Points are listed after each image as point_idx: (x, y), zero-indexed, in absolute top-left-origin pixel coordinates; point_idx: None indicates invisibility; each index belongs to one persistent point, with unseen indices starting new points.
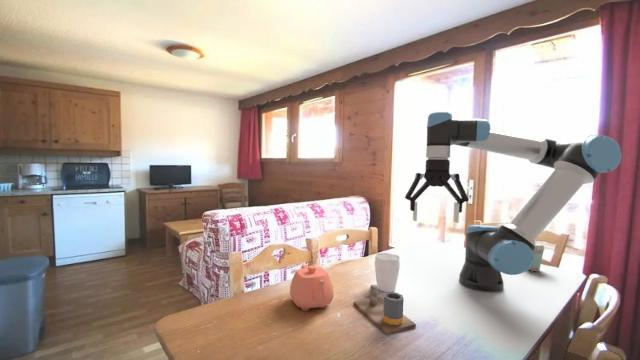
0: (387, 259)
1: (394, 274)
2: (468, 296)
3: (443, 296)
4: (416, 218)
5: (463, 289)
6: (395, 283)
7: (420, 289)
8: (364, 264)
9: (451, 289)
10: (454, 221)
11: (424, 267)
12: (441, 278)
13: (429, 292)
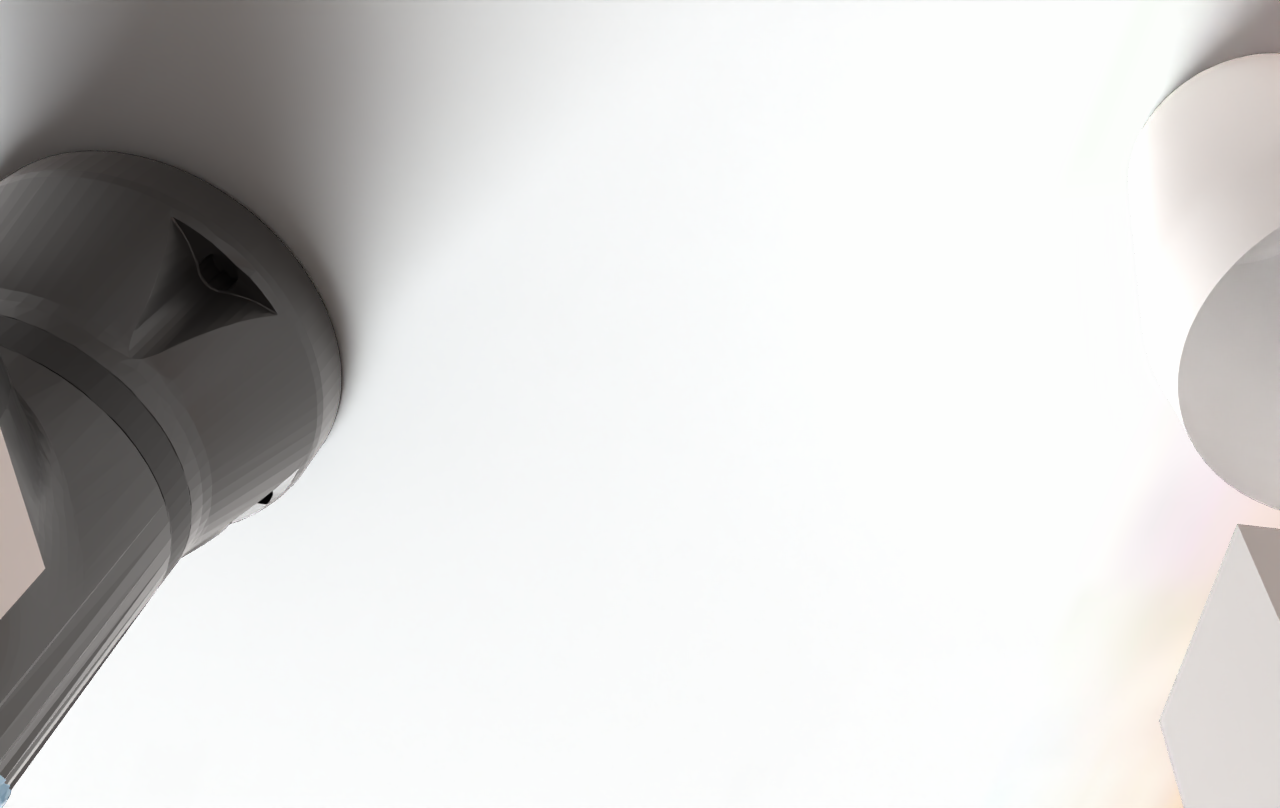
0: (1264, 460)
1: (1267, 115)
2: (342, 32)
3: (614, 4)
4: (1273, 589)
5: (350, 202)
6: (1188, 113)
7: (821, 166)
8: None
9: (474, 192)
10: (20, 505)
11: (598, 679)
12: (502, 445)
13: (742, 96)
